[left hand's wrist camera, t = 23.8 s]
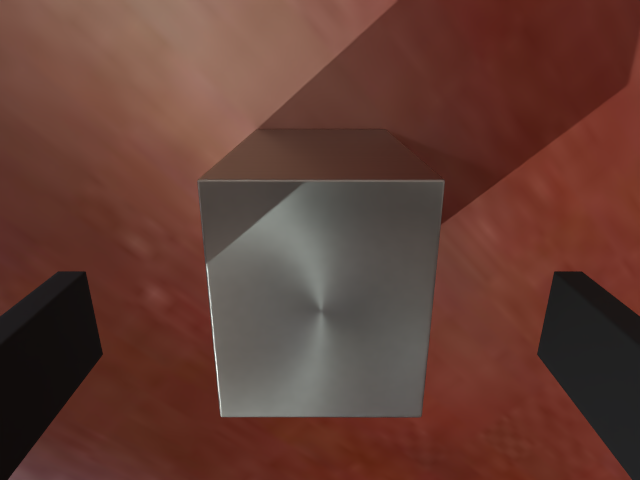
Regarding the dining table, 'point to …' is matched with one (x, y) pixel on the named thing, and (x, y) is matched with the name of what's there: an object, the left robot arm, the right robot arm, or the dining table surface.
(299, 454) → the dining table surface
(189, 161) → the dining table surface
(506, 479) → the dining table surface
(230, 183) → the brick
